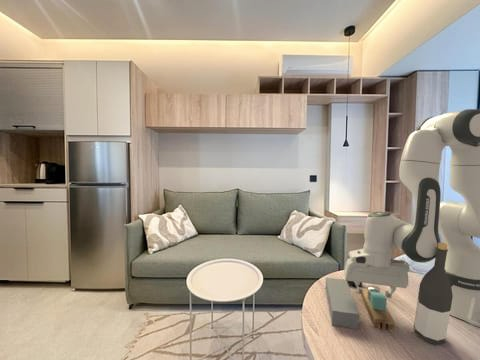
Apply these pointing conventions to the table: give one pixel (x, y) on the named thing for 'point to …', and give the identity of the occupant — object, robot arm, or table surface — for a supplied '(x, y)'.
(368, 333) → the table surface
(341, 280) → the dock
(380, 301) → the mint green cube
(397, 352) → the table surface
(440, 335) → the wine bottle
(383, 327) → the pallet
